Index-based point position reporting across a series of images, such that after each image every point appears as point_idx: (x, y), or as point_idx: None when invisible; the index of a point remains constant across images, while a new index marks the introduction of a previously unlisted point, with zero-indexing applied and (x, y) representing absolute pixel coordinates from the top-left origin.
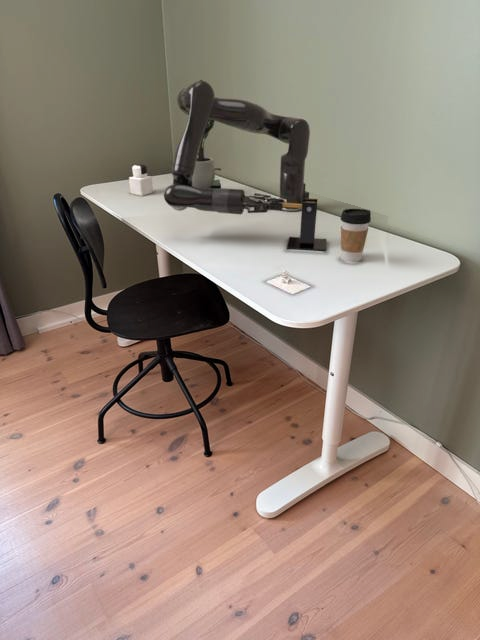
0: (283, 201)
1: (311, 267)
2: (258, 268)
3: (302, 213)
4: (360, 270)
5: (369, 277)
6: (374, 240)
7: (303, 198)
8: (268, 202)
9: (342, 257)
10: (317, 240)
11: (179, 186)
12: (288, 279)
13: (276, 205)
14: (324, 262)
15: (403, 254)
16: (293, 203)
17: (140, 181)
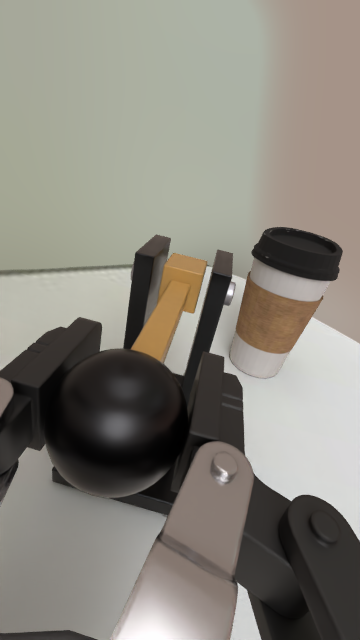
0: (99, 332)
1: (344, 462)
2: None
3: (215, 329)
4: (308, 364)
5: (338, 363)
6: (124, 295)
7: (142, 253)
8: (237, 463)
9: (273, 369)
10: None
11: None
12: None
13: (241, 404)
14: (286, 416)
15: (204, 294)
16: (161, 306)
17: None
